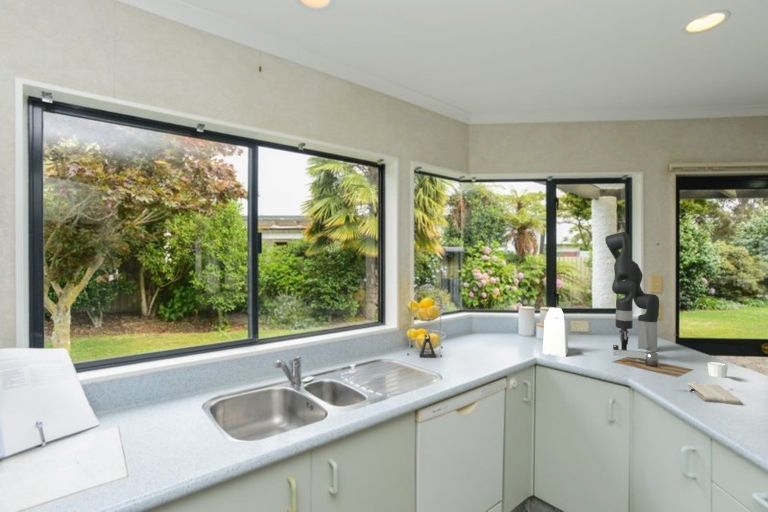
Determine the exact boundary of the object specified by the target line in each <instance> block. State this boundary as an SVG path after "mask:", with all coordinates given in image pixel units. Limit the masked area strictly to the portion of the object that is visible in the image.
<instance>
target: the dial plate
mask: <svg viewBox="0 0 768 512" xmlns="http://www.w3.org/2000/svg"><path fill="white" fill-rule="evenodd" d="M612 363H613V364H618V365H622V366H628V367H632V368H636V369H640V370H643V371H644V370H645V371H647V372H652V373H657V374H661V375H665V376H670V377H674V378H679V377H681V376H683V375H686V374H687V373H690V372H692V371H694V370H695V369H694V368H688V367H684V366H681V365H680V366H679V365H674V364H670V363H666V362H665V363H664V362H661V361H658V366H656V367H654V366H648V365H645V359H643V358H633V357H621V358H620V359H617V360H614V361H612Z"/></svg>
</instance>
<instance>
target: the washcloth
mask: <svg viewBox="0 0 768 512" xmlns="http://www.w3.org/2000/svg"><path fill="white" fill-rule="evenodd" d="M686 384H687V385H688V386H689V387H691V388H690V389H691V390H690V392H692V391H694V393H695V394H694V393H693V394H694V395H696V396H697V397H698V398H699V399H700V400H702V401H704V402H710V403H719V404H727V405H736V406H737V405H738V406H740V405H742V401H741V400H740V399H739V398H737V396H735V395H733V393H731V392H729V390H727V389H724V388H723V387H722V386H721V385H718V384H709V383H708V384H707V383H706V384H705V383H700V382H691V381H690V382H689V381H688V382H687V383H686Z"/></svg>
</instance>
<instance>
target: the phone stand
mask: <svg viewBox="0 0 768 512" xmlns="http://www.w3.org/2000/svg"><path fill="white" fill-rule="evenodd" d="M427 336H428V337H427ZM427 343H428V344H429V345H428V346H429V348H430V352H431V353H430V354H429V353H425V350H426V346H427ZM418 355H419V358H420V359H428V358H430V359H436V358H437V356H436V354H435V351H434V347H433V345H432V342H431V335H430V334H429V333H428V334H427V333H426V334H424V340H423V343H422V346H421V348H420V351H419V354H418Z"/></svg>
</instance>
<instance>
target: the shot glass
mask: <svg viewBox="0 0 768 512" xmlns="http://www.w3.org/2000/svg"><path fill="white" fill-rule="evenodd" d="M706 363H707V371H708V376H711V377H714V378H721V379H722V378H723V379H725V378H727V372H728V364H726V363H723V362H717V361H708V362H706Z"/></svg>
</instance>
